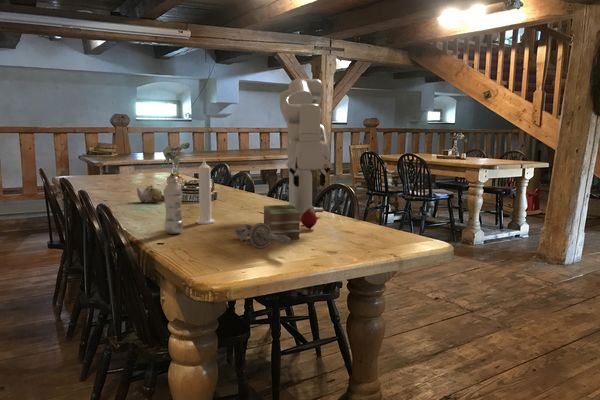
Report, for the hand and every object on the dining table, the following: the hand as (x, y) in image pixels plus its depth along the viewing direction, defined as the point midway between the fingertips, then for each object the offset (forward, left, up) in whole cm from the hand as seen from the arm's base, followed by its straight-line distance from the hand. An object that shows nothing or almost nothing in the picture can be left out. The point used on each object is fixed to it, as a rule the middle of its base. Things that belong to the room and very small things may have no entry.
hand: (309, 186), depth 181 cm
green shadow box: (+13, +9, -16) cm, 22 cm away
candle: (+35, -23, -16) cm, 45 cm away
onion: (0, 0, -16) cm, 16 cm away
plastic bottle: (+48, -6, -16) cm, 51 cm away
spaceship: (+23, +22, -16) cm, 36 cm away
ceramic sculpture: (+54, -81, -16) cm, 98 cm away
